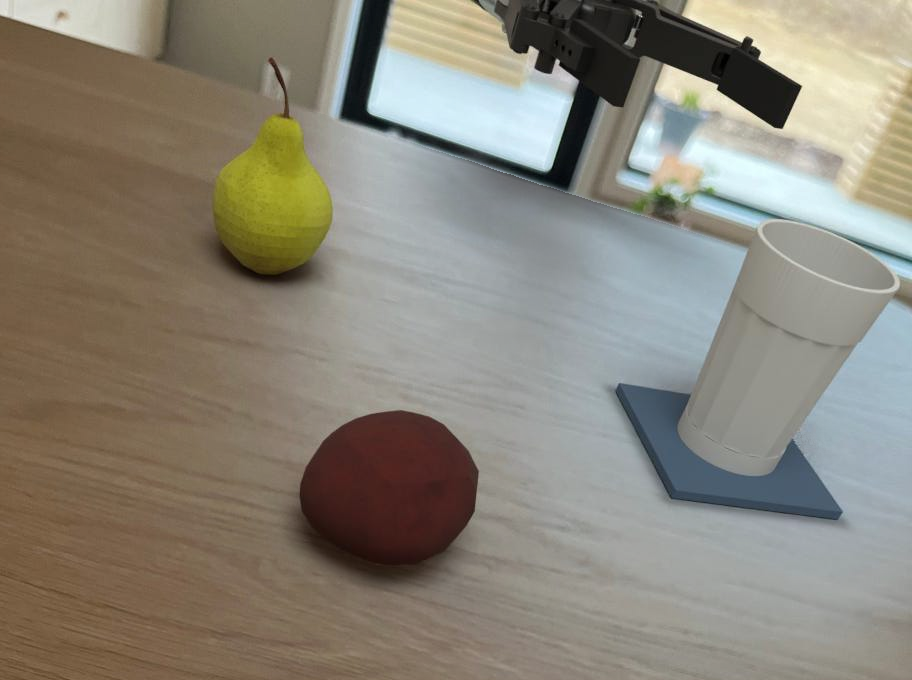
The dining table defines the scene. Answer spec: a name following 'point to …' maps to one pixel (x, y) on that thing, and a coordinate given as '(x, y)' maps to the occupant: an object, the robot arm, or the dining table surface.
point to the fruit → (272, 199)
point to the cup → (781, 342)
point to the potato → (390, 488)
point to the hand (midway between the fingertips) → (712, 96)
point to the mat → (704, 482)
